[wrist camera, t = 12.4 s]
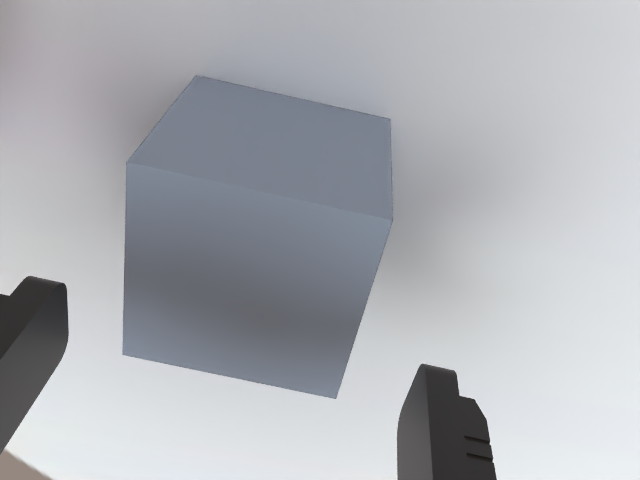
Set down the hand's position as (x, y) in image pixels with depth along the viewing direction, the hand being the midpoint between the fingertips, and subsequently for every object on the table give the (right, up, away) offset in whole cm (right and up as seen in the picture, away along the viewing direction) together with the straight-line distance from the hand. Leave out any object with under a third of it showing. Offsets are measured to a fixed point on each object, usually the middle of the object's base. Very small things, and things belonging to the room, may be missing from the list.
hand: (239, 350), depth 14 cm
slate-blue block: (0, +4, +6) cm, 8 cm away
